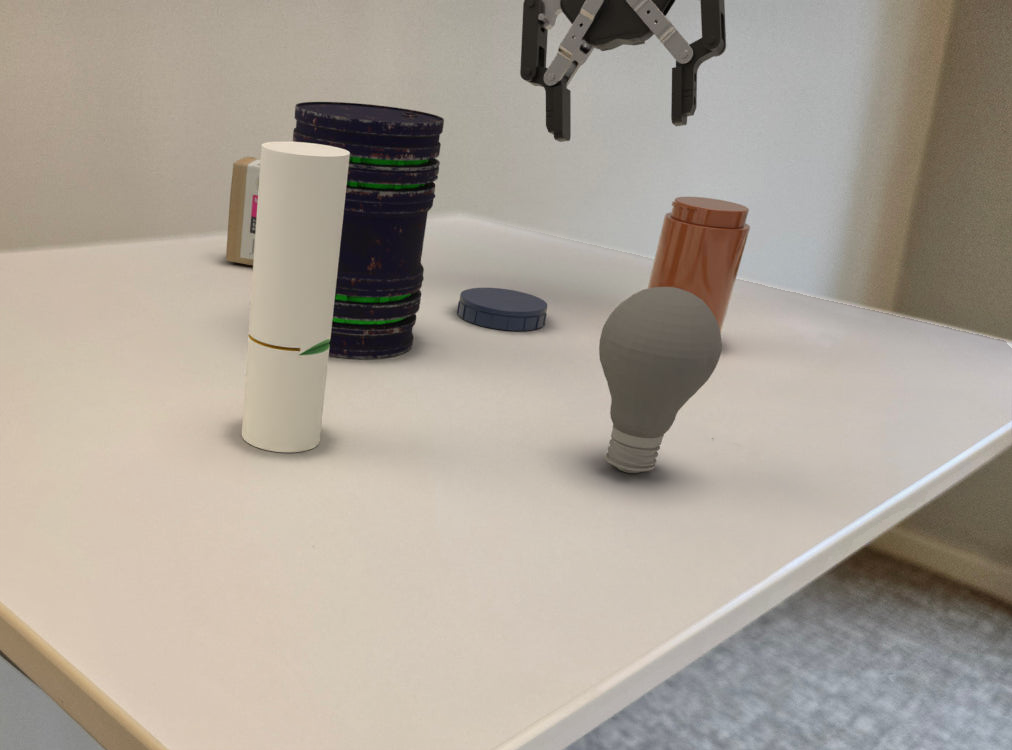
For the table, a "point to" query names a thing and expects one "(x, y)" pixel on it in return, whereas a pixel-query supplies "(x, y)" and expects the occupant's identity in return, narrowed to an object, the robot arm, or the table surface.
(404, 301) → the storage jar
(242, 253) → the ink box
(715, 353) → the light bulb
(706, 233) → the jar
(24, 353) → the table surface
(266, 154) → the tube
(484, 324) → the jar lid
